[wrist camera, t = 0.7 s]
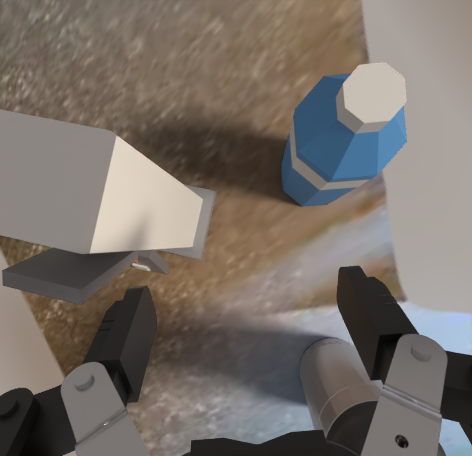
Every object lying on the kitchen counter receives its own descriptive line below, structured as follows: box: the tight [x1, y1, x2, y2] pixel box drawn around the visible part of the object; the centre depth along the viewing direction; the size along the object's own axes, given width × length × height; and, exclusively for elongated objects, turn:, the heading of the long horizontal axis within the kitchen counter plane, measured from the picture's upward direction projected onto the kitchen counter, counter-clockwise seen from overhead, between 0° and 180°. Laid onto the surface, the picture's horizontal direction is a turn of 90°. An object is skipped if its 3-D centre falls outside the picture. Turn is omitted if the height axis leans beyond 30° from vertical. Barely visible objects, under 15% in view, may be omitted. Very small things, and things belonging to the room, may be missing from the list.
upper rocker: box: [2, 247, 138, 305], centre depth 26 cm, size 1×6×9 cm, turn 78°
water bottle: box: [281, 62, 407, 206], centre depth 32 cm, size 9×9×25 cm
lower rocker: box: [130, 249, 170, 275], centre depth 38 cm, size 1×6×9 cm, turn 78°
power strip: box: [0, 110, 217, 259], centre depth 32 cm, size 10×13×29 cm
